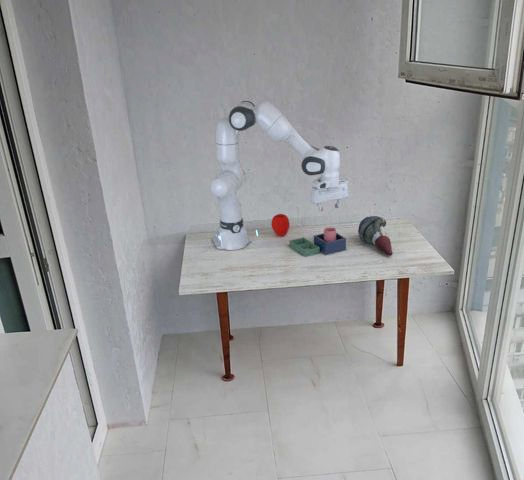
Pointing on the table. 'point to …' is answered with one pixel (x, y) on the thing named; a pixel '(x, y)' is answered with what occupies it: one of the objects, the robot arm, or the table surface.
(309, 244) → the rack
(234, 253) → the table surface
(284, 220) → the red rounded egg shape
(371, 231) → the figurine
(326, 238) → the cup
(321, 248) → the navy blue open box
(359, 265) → the table surface
